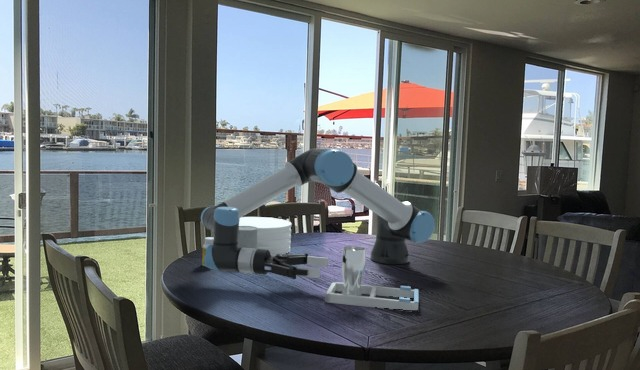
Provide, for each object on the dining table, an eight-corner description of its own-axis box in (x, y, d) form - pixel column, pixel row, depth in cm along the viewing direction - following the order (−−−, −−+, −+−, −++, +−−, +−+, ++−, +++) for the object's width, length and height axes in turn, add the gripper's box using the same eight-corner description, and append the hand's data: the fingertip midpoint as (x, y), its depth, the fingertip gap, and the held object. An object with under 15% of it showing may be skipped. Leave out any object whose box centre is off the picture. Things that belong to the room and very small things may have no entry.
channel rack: (325, 302, 145) (325, 293, 145) (332, 289, 158) (332, 281, 158) (417, 312, 141) (418, 303, 141) (417, 298, 154) (418, 290, 153)
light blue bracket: (398, 310, 142) (399, 298, 141) (400, 296, 155) (400, 285, 154) (417, 312, 141) (418, 300, 140) (417, 298, 154) (418, 287, 153)
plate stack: (261, 260, 192) (263, 230, 191) (207, 249, 206) (208, 221, 205) (303, 249, 215) (304, 222, 214) (251, 239, 230) (252, 214, 229)
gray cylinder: (225, 261, 187) (226, 228, 186) (239, 256, 196) (240, 224, 195) (248, 265, 184) (249, 231, 183) (261, 259, 193) (262, 227, 191)
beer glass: (361, 302, 146) (364, 251, 145) (338, 300, 148) (340, 249, 147) (364, 295, 153) (367, 246, 152) (341, 293, 155) (344, 244, 153)
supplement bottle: (201, 267, 178) (202, 239, 177) (202, 263, 183) (203, 236, 182) (217, 267, 179) (218, 239, 178) (217, 263, 184) (218, 236, 183)
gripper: (266, 263, 168) (330, 270, 164) (241, 284, 143) (315, 291, 139) (267, 241, 167) (331, 247, 163) (242, 257, 143) (316, 264, 139)
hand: (324, 267), depth 151 cm, fingers open, 13 cm apart
